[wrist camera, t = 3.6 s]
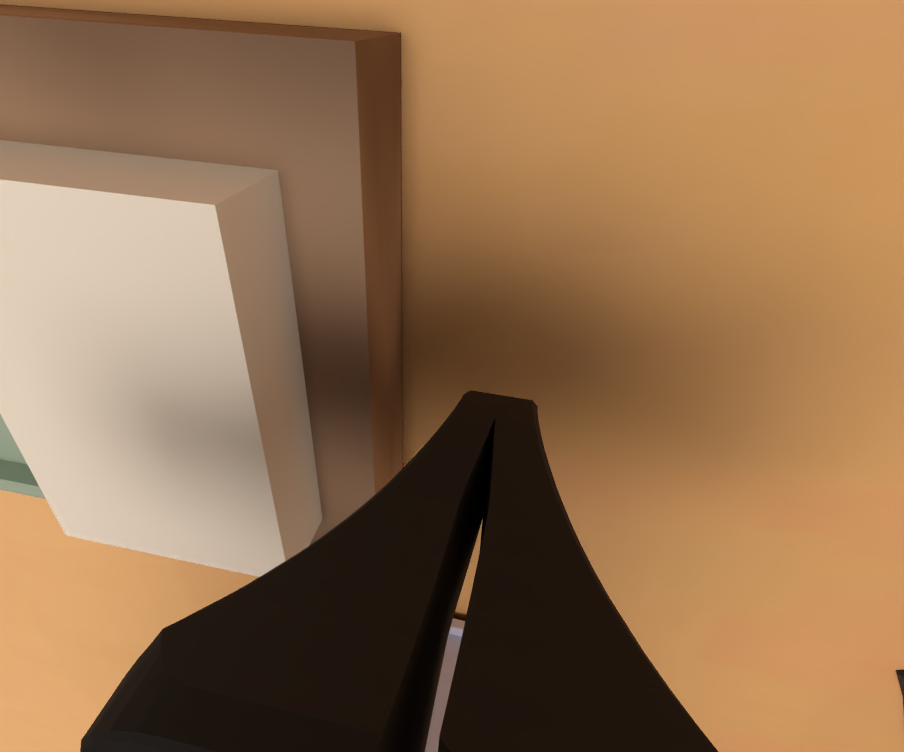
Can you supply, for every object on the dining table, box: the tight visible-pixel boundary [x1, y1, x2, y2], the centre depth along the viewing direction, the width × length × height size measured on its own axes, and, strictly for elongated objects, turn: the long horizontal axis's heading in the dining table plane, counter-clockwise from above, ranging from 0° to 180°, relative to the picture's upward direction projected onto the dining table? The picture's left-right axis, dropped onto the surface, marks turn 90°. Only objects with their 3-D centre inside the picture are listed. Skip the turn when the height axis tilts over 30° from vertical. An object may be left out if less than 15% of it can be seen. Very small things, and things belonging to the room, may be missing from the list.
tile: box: [0, 140, 322, 577], centre depth 12 cm, size 9×6×2 cm, turn 177°
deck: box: [0, 5, 402, 545], centre depth 14 cm, size 13×10×2 cm
